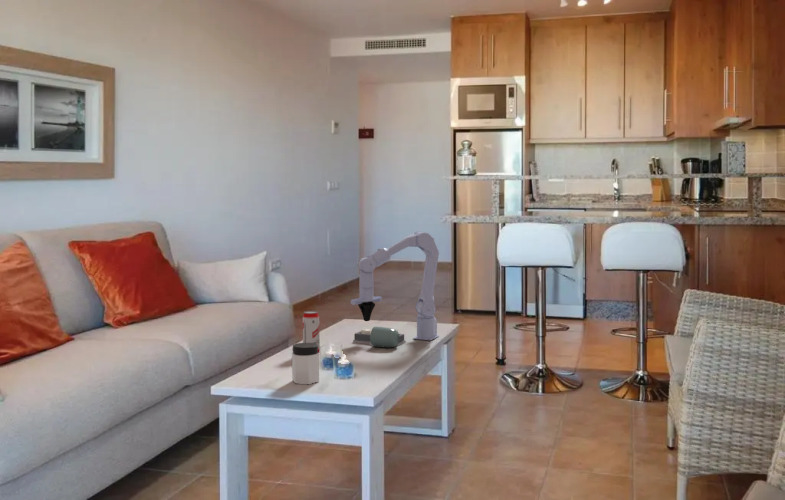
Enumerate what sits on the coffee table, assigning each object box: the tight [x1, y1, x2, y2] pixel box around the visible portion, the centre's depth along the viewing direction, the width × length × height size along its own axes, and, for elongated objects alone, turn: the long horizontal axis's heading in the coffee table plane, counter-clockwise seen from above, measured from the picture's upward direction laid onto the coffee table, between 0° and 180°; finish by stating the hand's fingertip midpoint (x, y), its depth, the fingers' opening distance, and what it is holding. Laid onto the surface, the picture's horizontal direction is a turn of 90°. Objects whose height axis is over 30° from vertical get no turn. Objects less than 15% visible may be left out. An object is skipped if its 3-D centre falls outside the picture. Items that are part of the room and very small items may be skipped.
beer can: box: [302, 310, 321, 354], centre depth 295 cm, size 6×6×16 cm
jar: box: [291, 342, 320, 385], centre depth 255 cm, size 9×8×12 cm
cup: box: [370, 326, 400, 348], centre depth 307 cm, size 8×8×10 cm
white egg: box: [360, 328, 372, 334], centre depth 319 cm, size 4×4×3 cm
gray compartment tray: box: [352, 330, 407, 347], centre depth 317 cm, size 8×20×3 cm, turn 65°
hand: (366, 320), depth 319 cm, fingers closed
